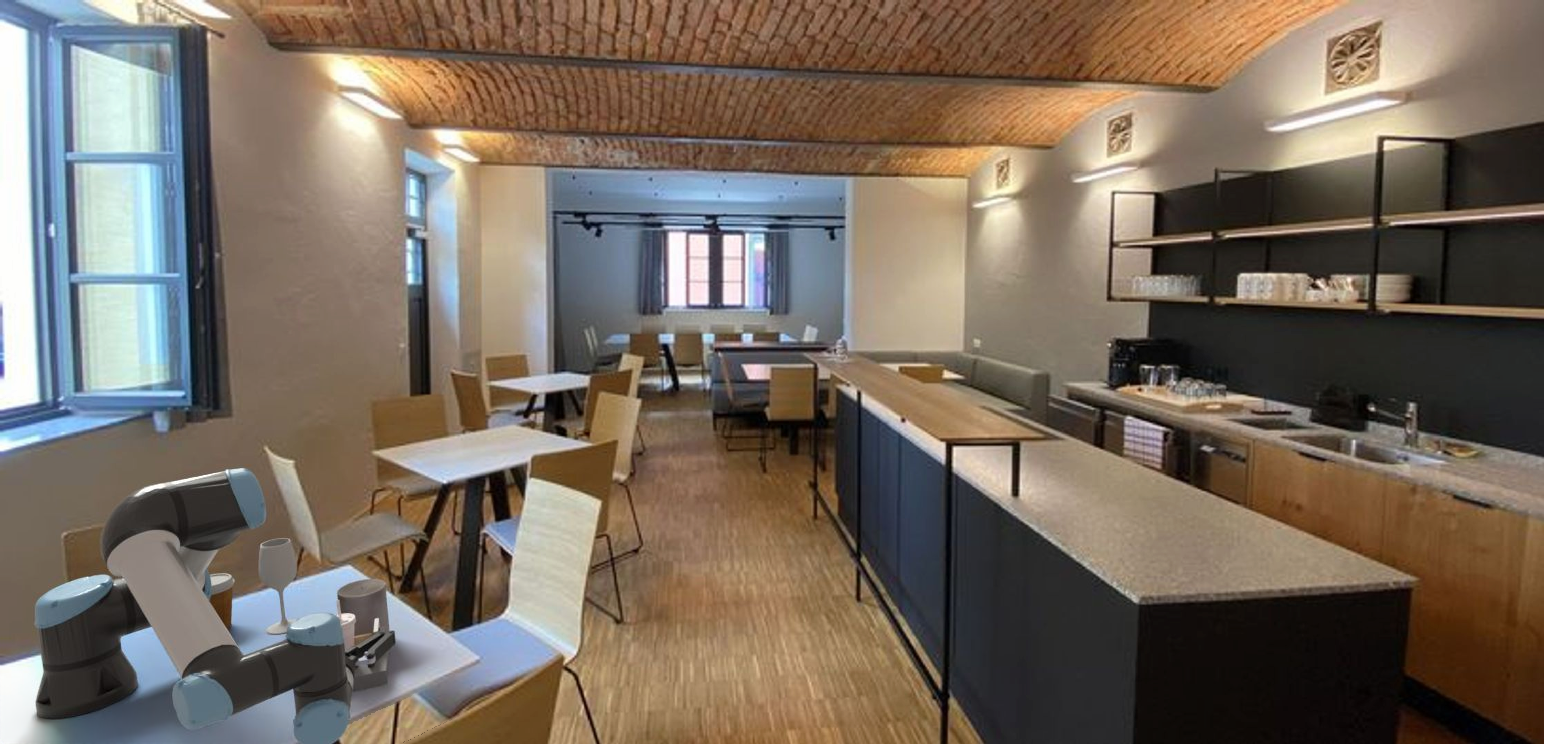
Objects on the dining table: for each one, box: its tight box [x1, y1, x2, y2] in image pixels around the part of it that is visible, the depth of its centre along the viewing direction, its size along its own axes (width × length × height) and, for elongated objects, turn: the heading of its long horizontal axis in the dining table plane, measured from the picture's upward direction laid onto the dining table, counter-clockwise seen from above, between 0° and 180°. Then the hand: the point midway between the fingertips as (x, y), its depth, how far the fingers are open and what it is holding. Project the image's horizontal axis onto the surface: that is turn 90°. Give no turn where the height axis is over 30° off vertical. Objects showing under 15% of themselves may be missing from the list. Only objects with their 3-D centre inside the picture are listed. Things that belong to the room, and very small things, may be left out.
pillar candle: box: [336, 578, 391, 636], centre depth 171 cm, size 10×10×15 cm
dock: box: [352, 649, 390, 693], centre depth 157 cm, size 16×13×3 cm
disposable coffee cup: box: [209, 572, 236, 630], centre depth 180 cm, size 10×10×12 cm
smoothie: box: [335, 599, 356, 650], centre depth 156 cm, size 6×6×14 cm
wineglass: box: [258, 537, 298, 635], centre depth 180 cm, size 8×8×21 cm
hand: (338, 631), depth 151 cm, fingers open, 13 cm apart
